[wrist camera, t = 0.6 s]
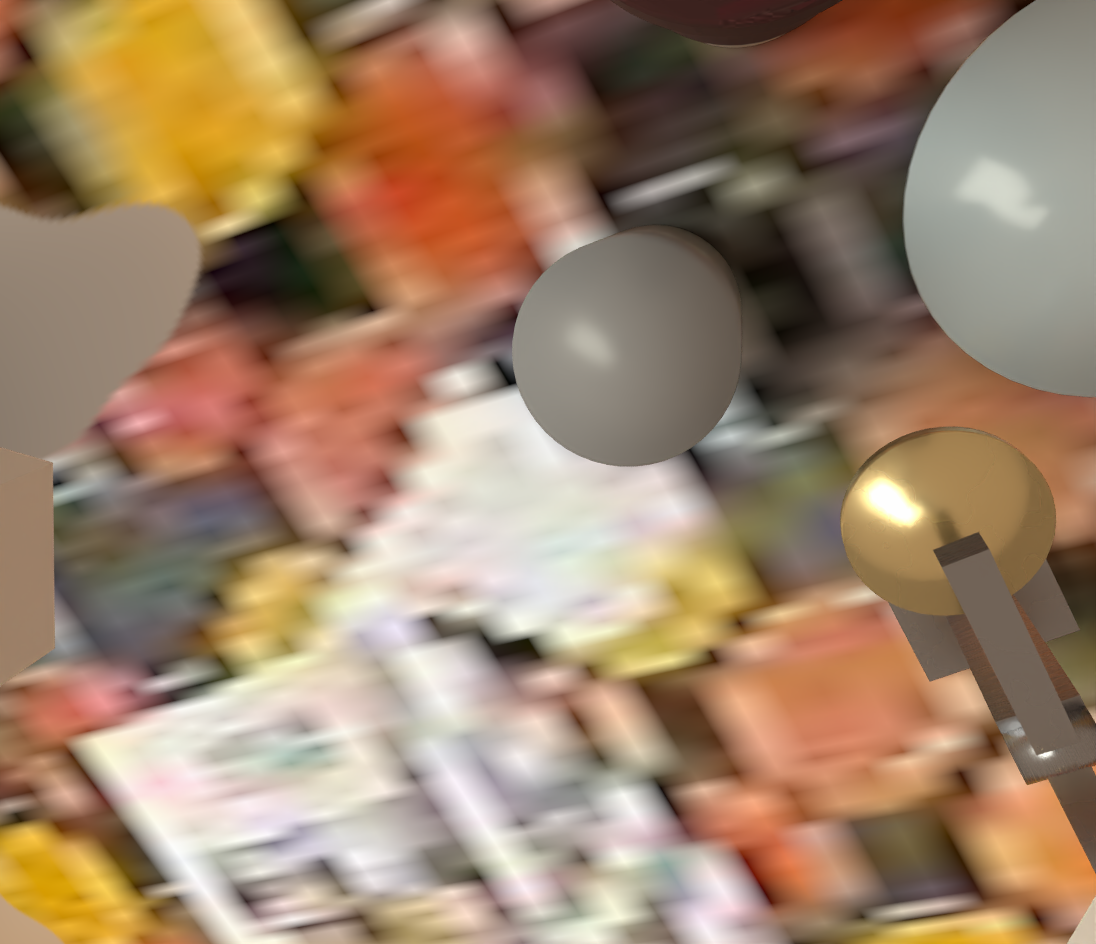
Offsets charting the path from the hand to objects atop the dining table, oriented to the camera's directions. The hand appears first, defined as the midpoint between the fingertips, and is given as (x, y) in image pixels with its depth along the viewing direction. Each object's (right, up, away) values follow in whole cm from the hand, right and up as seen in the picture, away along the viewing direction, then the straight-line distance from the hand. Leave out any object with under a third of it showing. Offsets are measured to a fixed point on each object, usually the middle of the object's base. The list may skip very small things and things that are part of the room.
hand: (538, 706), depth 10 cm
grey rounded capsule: (+4, +9, +24) cm, 26 cm away
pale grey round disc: (+20, +12, +19) cm, 30 cm away
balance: (+17, -2, +25) cm, 30 cm away
